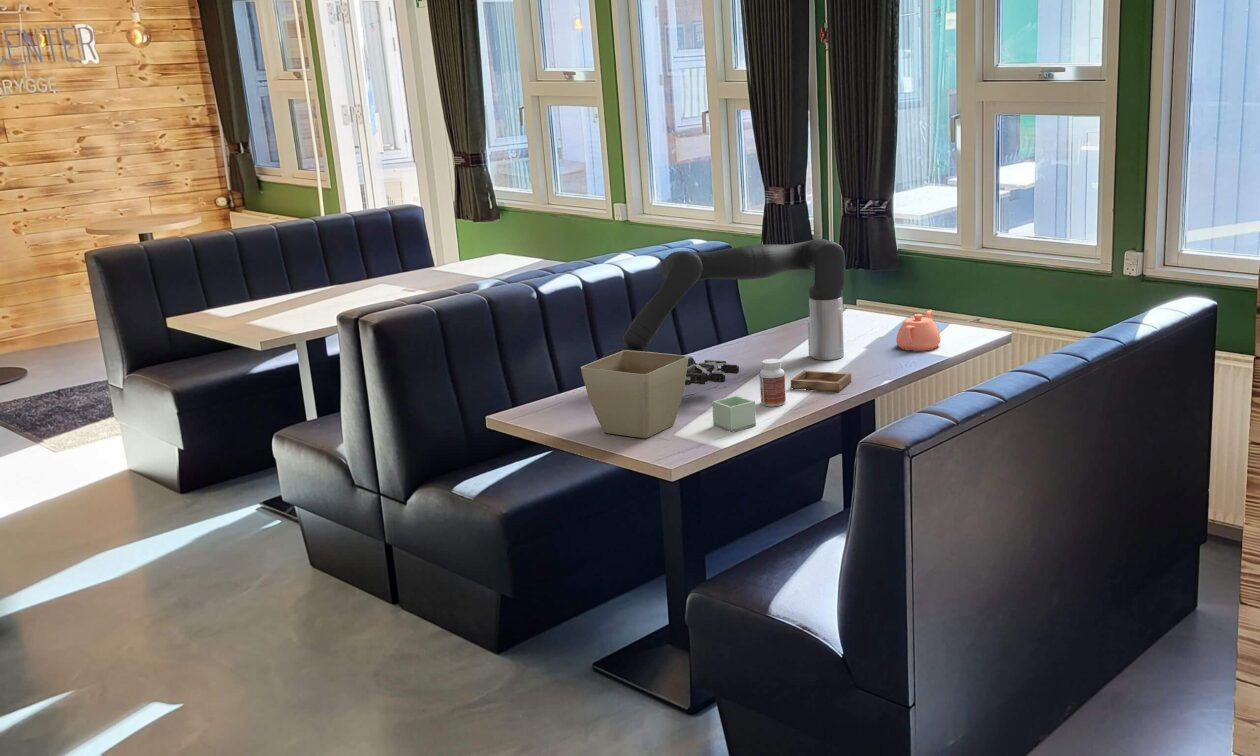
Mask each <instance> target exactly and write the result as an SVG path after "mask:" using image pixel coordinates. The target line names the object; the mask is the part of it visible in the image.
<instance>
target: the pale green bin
mask: <svg viewBox="0 0 1260 756" xmlns="http://www.w3.org/2000/svg"><path fill="white" fill-rule="evenodd" d="M711 403H712V404H711V405H712V418H713V419H712V423H713V427H717V428H719V429H721V428H722V430H724V429H725V430H724V431H727V432H729V431H730V433H734V432H738V431H741V429H742V430H745V428H746V429H749V428H752V427H756V426H757V422H756V421H757V420H756V419H757V418H756V401H754V400H751V399H748V398H746V397H742V396H740V395H732V396H729V397H725V398H721V399H717V400H713V401H711ZM737 430H738V431H737ZM733 431H734V432H733Z"/></svg>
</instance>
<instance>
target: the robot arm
mask: <svg viewBox="0 0 1260 756" xmlns="http://www.w3.org/2000/svg"><path fill="white" fill-rule="evenodd" d="M660 269H661V274H662V276H663V278H664V279H665V280H664V281H663V283H662V285H660V287H659V289H658V291H657V292H656V293H655V295H654V296H653V297H652V298H651V299H650V300H649V301H648V302H647V303H646V304H645V305H643V306H644V307H642V308H641V310H640V311H639V312H638V313H637V314H636V316H635V317H634V319H633V320H632V321H631V323H630V324H629V326H628V328H627V329H626V331H625V333H624V334H623V336H622V340H623V341H622V342H623V343H624V347H623V349H619V348H617V349H611V350H609V351H607V352H606V353H604V355H603V356H602V358H605V357H607V356H610V355H613V354H615V353H618V352H621V351H623V350H631V351H643V352H646V349H647V347H648V346H649V345H650V343H651V342H652V340H653V339H654V337H655V336H656V334H657V333H658V331H659V330H660V328H661V326H662V325H663V323H664V322H665V320H666V319H667V318H668V316H669V315H670V313H671V312H672V311H673V310H674V308H675V307H676V306H677V305H678V303H679V302H680V301H681V299H682V298H683V297H684V296H685V295H686V294H687V293H688V291H690V289H691V288H692V287H693V286H694V285H695V283H697V281H704V280H709V279H710V280H712V279H714V280H715V279H716V280H733V281H734V280H736V281H737V280H744V281H745V280H746V281H747V280H757V279H765V278H770V277H773V276H776V275H779V274H781V273H784V272H787V271H788V272H789V271H814V282H813V285H812V286H810V287H809V288H808V299H809V300H808V303H809V322H808V323H807V341H808V342H807V343H808V345H807V346H808V356H810V357H811V358H812V359H814V360H817V361H832V360H838V359H841V358H844V356H845V352H844V351H845V350H844V345H845V344H844V310H843V292H844V288H845V283H846V255H845V251H844V249H843V247H842V245H840V243H837V242H836V241H833V240H829V239H824V238H816V239H811V240H807V241H802V242H797V243H789V244H788V243H787V244H779V243H778V244H775V243H774V244H773V243H772V244H771V243H770V244H754V245H753V244H752V245H742V246H736V247H729V248H724V249H720V250H715V251H705V252H701V251H700V252H696V251H695V252H693V251H687V250H677V251H674V252H671V253H670V254H668V255H667V256H666V257H665V258H664V259H663V261H662V263H661V266H660ZM687 356H688V355H687ZM739 373H740V367H739V365H738V364H730V363H729V364H727V361H726V360H710V359H709V360H707V359H706V360H704V361H702V362H699V363H697V362H696V361H695V359H694V357H692V356H690V355H689V356H688V365H687V373H686V379H685V385H684V386H691V385H692V384H694V385H703V386H704V385H705V384H706V383H707V384H709V383H725V382H726V374H730V375H731V374H734V375H737V374H739Z"/></svg>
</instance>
